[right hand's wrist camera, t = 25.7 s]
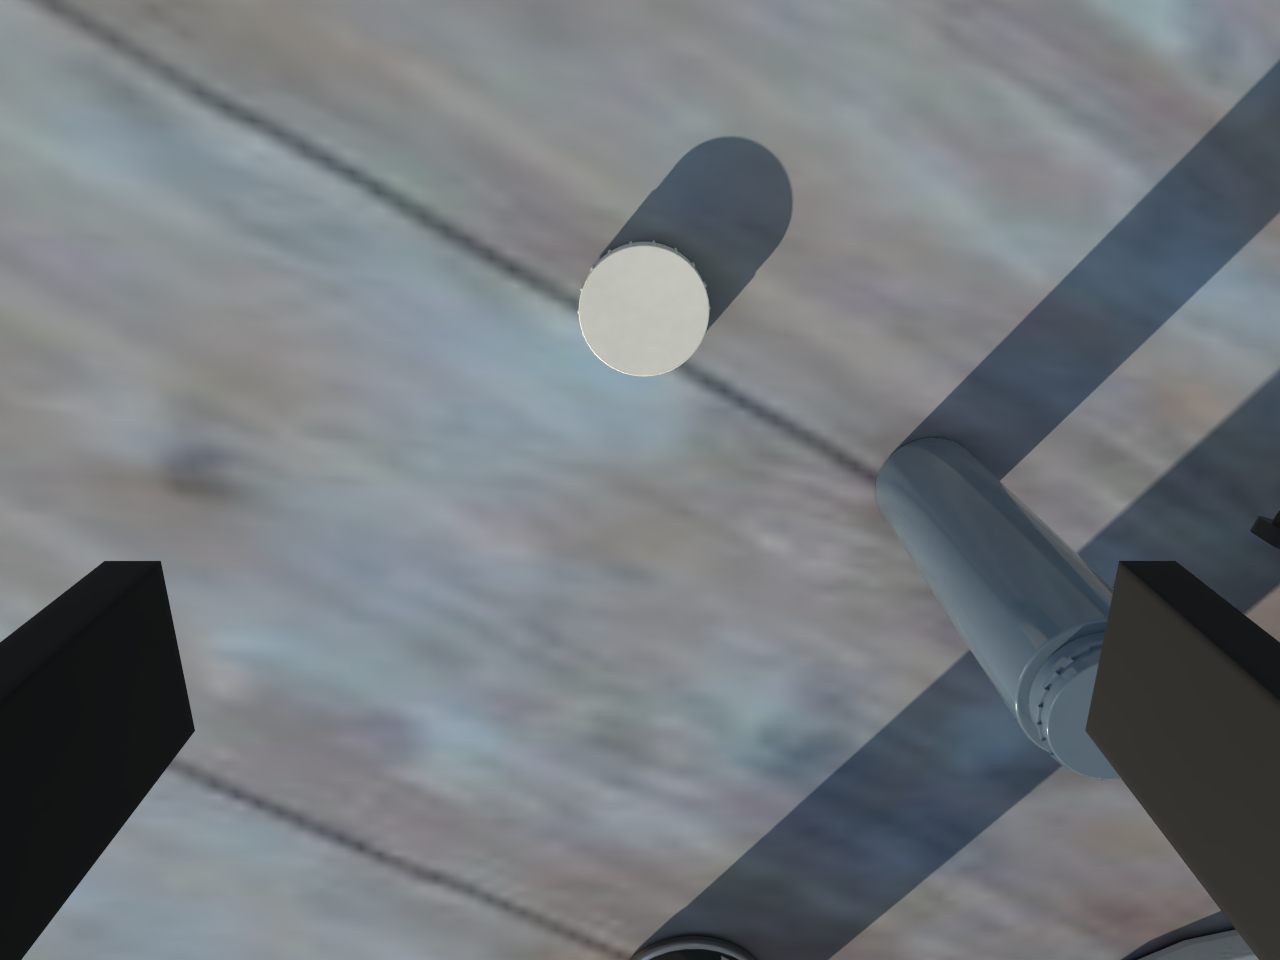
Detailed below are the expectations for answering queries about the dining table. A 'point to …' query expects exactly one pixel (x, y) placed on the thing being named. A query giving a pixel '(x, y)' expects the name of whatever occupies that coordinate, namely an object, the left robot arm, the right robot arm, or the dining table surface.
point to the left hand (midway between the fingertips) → (1211, 620)
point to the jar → (1005, 591)
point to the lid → (644, 308)
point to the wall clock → (1207, 949)
